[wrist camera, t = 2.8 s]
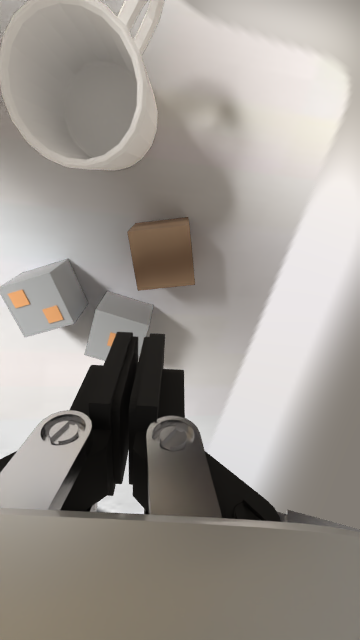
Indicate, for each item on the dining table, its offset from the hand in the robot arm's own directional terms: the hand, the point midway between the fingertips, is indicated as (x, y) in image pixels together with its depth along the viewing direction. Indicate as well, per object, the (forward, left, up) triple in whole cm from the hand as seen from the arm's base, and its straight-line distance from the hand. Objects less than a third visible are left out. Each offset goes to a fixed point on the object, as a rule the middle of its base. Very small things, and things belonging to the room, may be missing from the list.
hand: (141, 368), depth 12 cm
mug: (-12, -4, -21) cm, 25 cm away
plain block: (0, 0, -21) cm, 21 cm away
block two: (+5, -11, -21) cm, 24 cm away
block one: (+8, -4, -21) cm, 23 cm away
